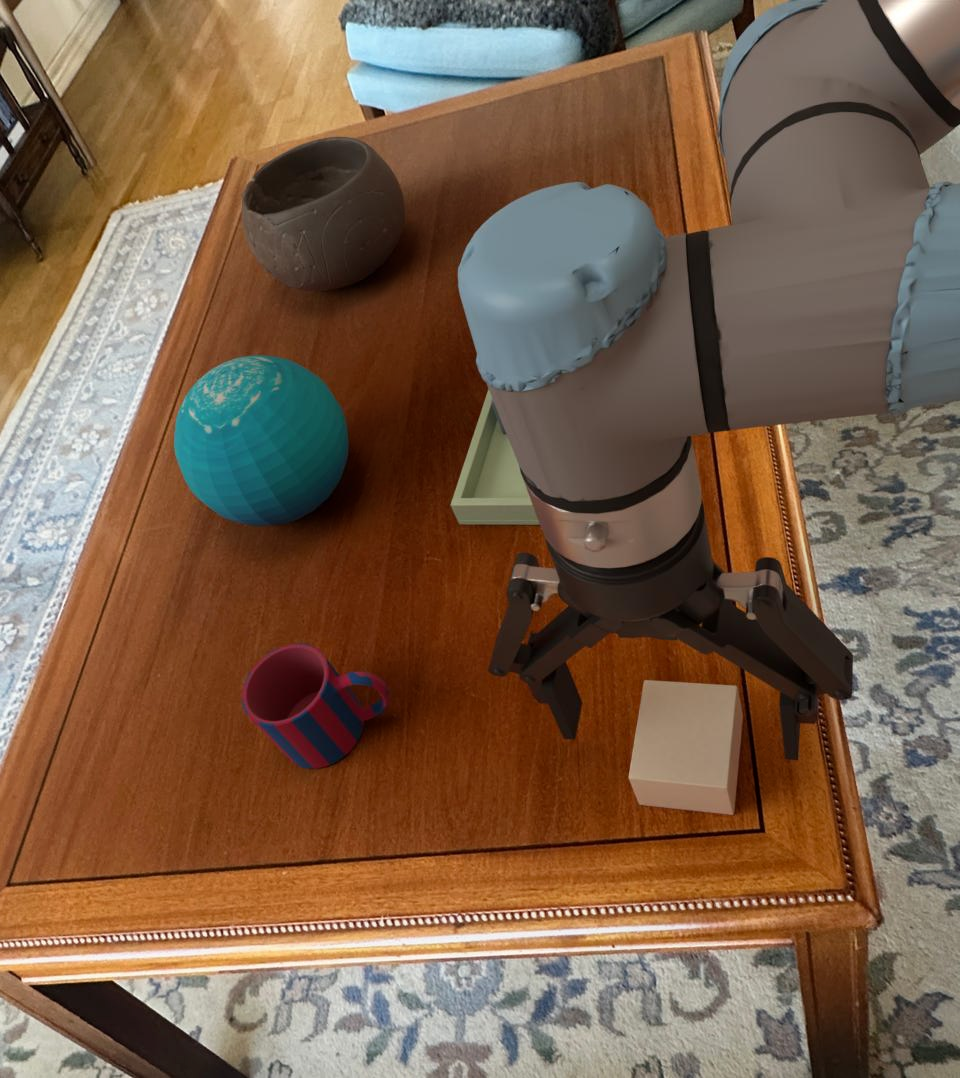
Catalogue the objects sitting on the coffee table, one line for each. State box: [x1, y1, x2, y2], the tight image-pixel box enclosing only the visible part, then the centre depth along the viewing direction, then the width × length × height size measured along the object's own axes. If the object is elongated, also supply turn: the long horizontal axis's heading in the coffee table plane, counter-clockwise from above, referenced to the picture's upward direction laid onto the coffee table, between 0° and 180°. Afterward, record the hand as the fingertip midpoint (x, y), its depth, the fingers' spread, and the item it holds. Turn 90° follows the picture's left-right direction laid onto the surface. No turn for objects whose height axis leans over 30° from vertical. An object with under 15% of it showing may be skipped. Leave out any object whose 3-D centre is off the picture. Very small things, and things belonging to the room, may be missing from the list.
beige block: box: [628, 679, 744, 816], centre depth 63 cm, size 7×6×4 cm
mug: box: [241, 642, 391, 770], centre depth 71 cm, size 7×10×7 cm
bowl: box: [241, 136, 406, 292], centre depth 110 cm, size 18×18×13 cm
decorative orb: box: [173, 354, 349, 527], centre depth 86 cm, size 15×15×15 cm
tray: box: [450, 388, 540, 526], centre depth 86 cm, size 19×10×3 cm, turn 166°
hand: (678, 729), depth 61 cm, fingers open, 13 cm apart
